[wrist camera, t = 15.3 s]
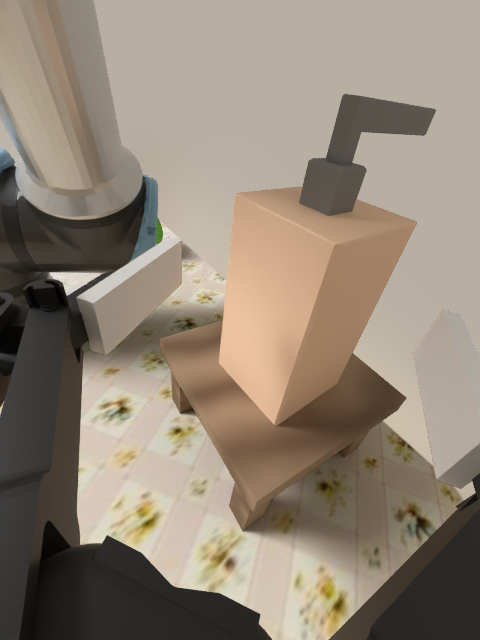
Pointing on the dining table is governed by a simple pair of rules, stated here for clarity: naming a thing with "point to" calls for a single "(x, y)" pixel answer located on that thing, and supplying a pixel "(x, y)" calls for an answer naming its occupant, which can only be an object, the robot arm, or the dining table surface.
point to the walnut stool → (258, 431)
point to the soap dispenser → (311, 267)
